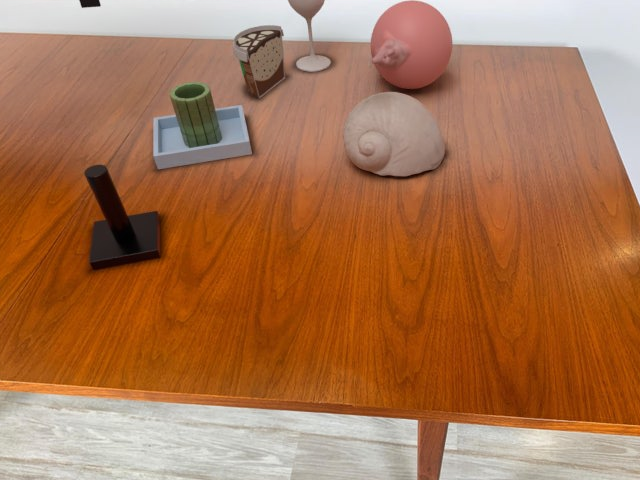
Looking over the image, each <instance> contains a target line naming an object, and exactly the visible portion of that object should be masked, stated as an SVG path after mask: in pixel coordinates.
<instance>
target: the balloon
mask: <svg viewBox="0 0 640 480" xmlns="http://www.w3.org/2000/svg"><path fill="white" fill-rule="evenodd" d="M452 53H453V36H452V31H451V28H450V25H449V23H448V21H447V19H446V18H445V16H444V15H443V13H441V12H440V10H438V9H437V8H436V7H434V6H433V5H431V4H429V3H427V2H424V1H421V0H404V1H400V2H397V3H395V4H393V5H392V6H390V7H388V8H387V9H386V10H385V11H384V12H382V14H381V15H380V16H379V18H378V19H377V21H376V23H375V24H374V27H373V29H372V33H371V36H370V54H371V63H372V64H373V65H374V67H375V68H376V70H377V72H378V73H379V74H380V75H381V77H382V78H383V79H384V80H385V81H386V82H388V83H389V84H391V85H393V86H395V87H397V88H401V89H406V90H416V89H422V88H424V87H426V86H429V85H430V84H432V83H434V82H435V81H436V80H438V79H439V78H440V76H441V75H443V74H444V71H445V70H446V69H447V67H448V65H449V63H450V60H451V57H452Z"/></svg>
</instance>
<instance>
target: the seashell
mask: <svg viewBox="0 0 640 480" xmlns="http://www.w3.org/2000/svg"><path fill="white" fill-rule="evenodd" d="M342 133H343V134H342V140H343V147H344V151H345V153H346V155H347V157H348V158H349V160H350V161H351V162H352V163H353V165H355V166H356V167H357V168H358V169H361V170H363V171H367V172H371V173H373V174H375V175H379V176H393V177H408V176H409V177H410V176H411V175H416V174H420V173H423V172H426V171H431V170H436V169H437V168H438V167H440V165H441V163H442V161H443V159H444V157H445V154H446V147H445V141H444V140H445V139H444V136H443V132H442V129H441V127H440V125H439V123H438V121H437V119H436V118H435V116H434V115H433V114H432V113H431V111H430V110H429V109H428V108H427V107H426V106H425V105H424V104H423V103H422V102H420V101H419V100H418V99H416V98H415V97H414V96H413V97H412V96H410V95H408V94H406V93H401V92H399V91H384V92H379V93H374V94H372V95H369V96H367V97H366V98H363V100H360V102H359V103H357V104H356V105H355V106H354V107H353V108H352V110H351V111H350V113H349V114H348V116H347V118H346V121H345V123H344V126H343V132H342Z"/></svg>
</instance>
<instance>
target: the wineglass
mask: <svg viewBox="0 0 640 480" xmlns="http://www.w3.org/2000/svg"><path fill="white" fill-rule="evenodd" d="M287 2H288V4H289V6H290V7H291V9H293V10H294V12H295V13H297V14H298V15H299V16H300V17H302V18H304V20H305V21H306V24H307V32H308V43H309V49H310V50H309V51H310V52H309V53H310V54H309V55H306V56H303V57H300V58H299V59H298V60H297V61H296V64H295V66H296V68H297V69H298V70H300V71H302V72H307V73H311V72H312V73H314V72H321V71H325V70H326V69H328V68H329V67H330V66H331V65H332V64H331V63H332V61H331V59H330V58H329V57H327V56H324V55H319V54H317V55H316V54H315V49H314V39H313V28H312V20H313V18H314V17H315V16H317V14H318V13H319V12H320V10H321V9H322V7H323V6H324V4H325V0H287Z"/></svg>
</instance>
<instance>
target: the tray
mask: <svg viewBox="0 0 640 480" xmlns="http://www.w3.org/2000/svg"><path fill="white" fill-rule="evenodd" d="M215 110H216V114H217V118H218V122H219V126H220V130H221V135H222V140H221V141H220V142H219V143H218V144H212V145H206V146H199V147H193V148H189V147H187V146H186V145H185V144H184V141H183V137H182V134H181V131H180V127H179V124H178V121H177V118H176V114H171V115H164V116H157V117H153V120H152V121H153V123H152V124H153V126H152V127H153V129H152V130H153V133H152V135H153V136H152V141H153V142H152V145H153V146H152V148H153V149H152V157H153V160H154V162H155V163H154V164H155V166H156V168H157V170H164V169H171V168H177V167H184V166H188V165H195V164H201V163H207V162H213V161H218V160H225V159H233V158H237V157H243V156H250V155H253V150H252V146H251V142H250V136H249V131H248V126H247V122H246V117H245V113H244V107H243V105H242V104H239V105H231V106H225V107H219V108H217V107H216V108H215Z"/></svg>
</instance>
